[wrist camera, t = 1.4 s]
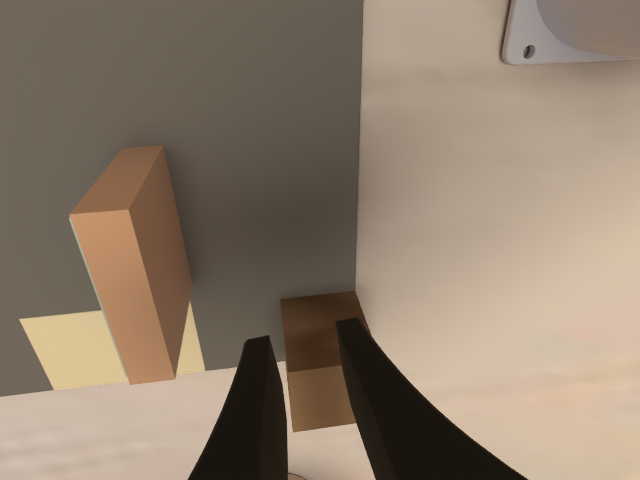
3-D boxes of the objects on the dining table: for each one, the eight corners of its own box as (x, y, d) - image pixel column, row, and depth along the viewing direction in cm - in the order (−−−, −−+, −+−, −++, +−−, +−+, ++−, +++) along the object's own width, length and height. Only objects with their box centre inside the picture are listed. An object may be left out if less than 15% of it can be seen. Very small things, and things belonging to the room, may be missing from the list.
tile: (163, 145, 17) (128, 209, 12) (192, 284, 21) (175, 379, 16) (118, 148, 17) (63, 214, 12) (156, 287, 21) (126, 385, 15)
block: (355, 290, 23) (380, 360, 18) (353, 345, 25) (376, 420, 20) (279, 299, 22) (288, 372, 18) (284, 354, 24) (292, 432, 20)
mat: (361, -32, 16) (364, -33, 15) (351, 347, 25) (353, 352, 25) (-266, -23, 13) (-281, -23, 13) (-12, 392, 23) (-16, 399, 22)
